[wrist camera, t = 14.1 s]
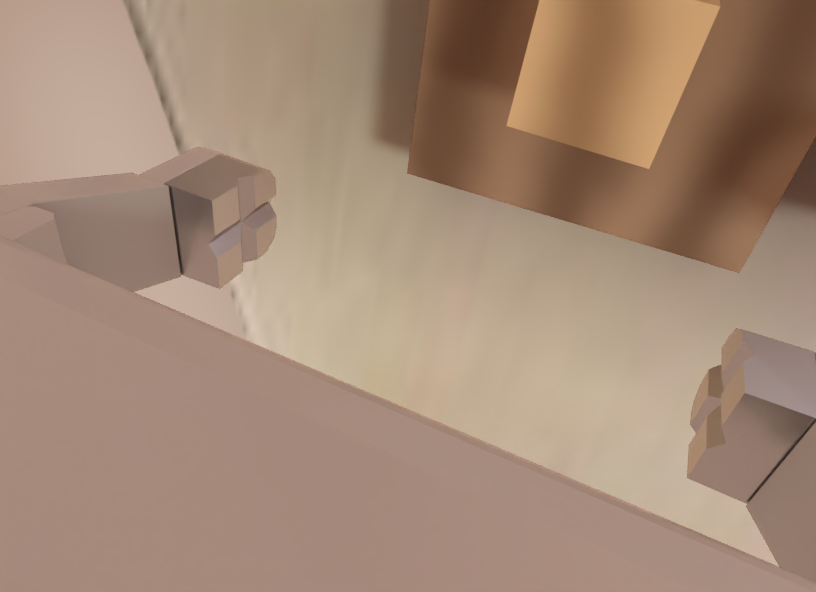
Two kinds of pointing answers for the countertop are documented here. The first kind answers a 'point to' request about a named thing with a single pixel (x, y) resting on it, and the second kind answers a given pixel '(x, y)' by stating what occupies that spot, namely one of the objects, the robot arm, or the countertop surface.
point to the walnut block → (614, 179)
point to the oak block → (609, 72)
